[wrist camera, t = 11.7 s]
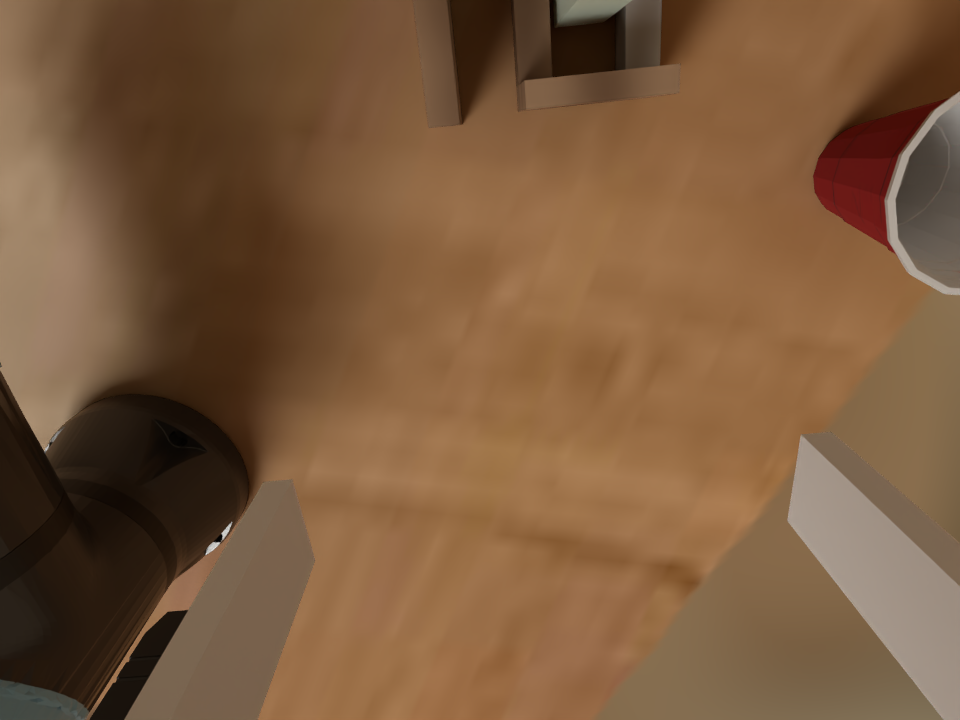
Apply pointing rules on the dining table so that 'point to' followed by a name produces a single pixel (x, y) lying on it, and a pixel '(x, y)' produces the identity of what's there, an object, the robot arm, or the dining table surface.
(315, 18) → the dining table surface
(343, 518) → the dining table surface
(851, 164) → the plastic cup
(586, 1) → the door panel
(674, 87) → the track
